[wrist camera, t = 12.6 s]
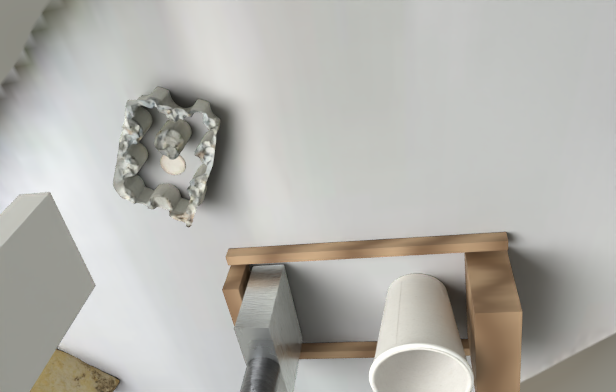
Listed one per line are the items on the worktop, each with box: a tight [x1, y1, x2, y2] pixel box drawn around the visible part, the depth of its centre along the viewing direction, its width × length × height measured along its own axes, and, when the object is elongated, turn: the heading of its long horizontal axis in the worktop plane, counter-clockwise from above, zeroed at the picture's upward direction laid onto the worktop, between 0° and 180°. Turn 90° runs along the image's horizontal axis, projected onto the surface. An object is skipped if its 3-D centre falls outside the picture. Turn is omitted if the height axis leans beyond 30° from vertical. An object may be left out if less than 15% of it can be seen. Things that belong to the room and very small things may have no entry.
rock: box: [30, 349, 120, 392], centre depth 66 cm, size 11×9×10 cm
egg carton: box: [113, 87, 220, 227], centre depth 48 cm, size 11×8×4 cm
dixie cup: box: [369, 274, 474, 392], centre depth 51 cm, size 8×8×10 cm
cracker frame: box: [222, 232, 522, 392], centre depth 53 cm, size 25×14×8 cm, turn 100°
